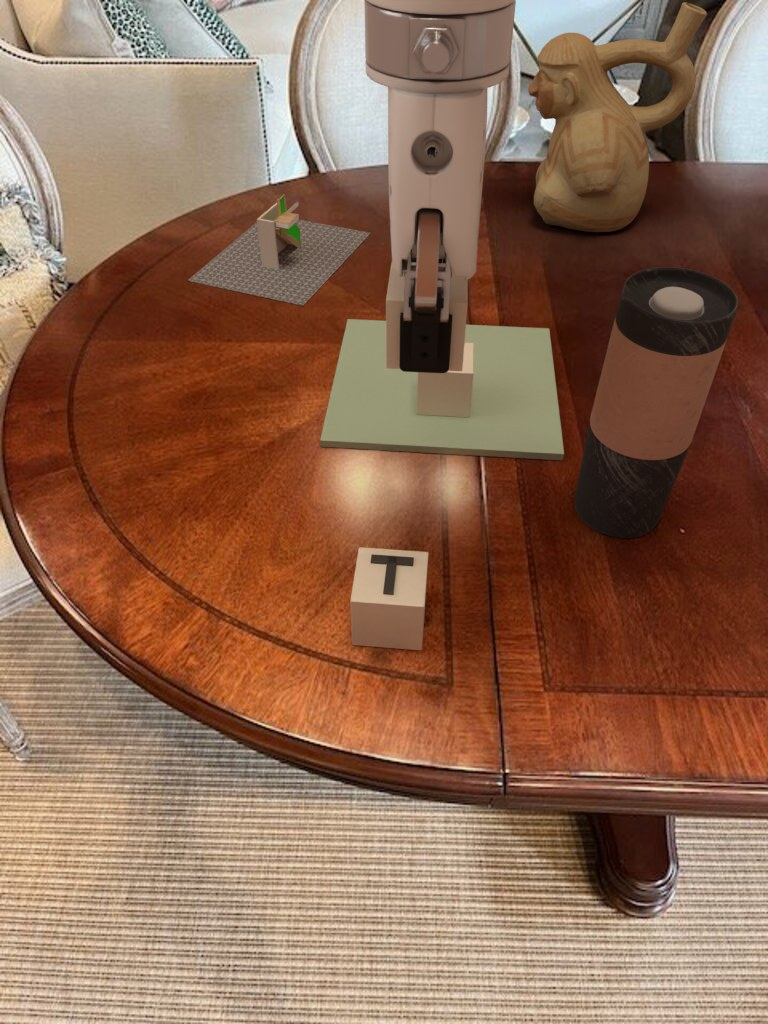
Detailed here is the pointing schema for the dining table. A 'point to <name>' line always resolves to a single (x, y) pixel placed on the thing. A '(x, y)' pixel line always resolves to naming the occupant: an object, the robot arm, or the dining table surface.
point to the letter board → (486, 432)
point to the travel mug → (651, 396)
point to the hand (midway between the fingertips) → (425, 343)
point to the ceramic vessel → (604, 124)
